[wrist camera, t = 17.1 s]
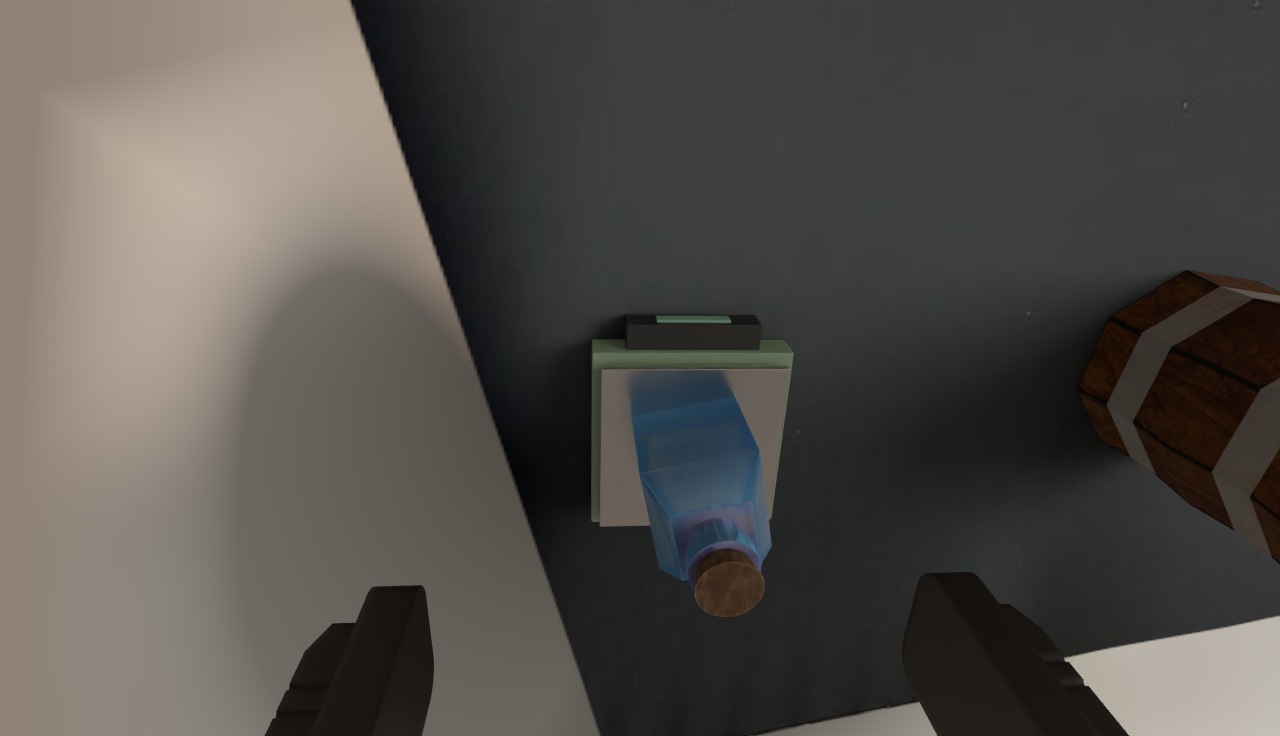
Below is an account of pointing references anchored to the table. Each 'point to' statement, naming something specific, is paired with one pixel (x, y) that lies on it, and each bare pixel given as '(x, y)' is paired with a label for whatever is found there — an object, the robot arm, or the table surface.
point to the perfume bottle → (706, 501)
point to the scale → (680, 358)
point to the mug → (1198, 396)
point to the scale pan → (674, 387)
